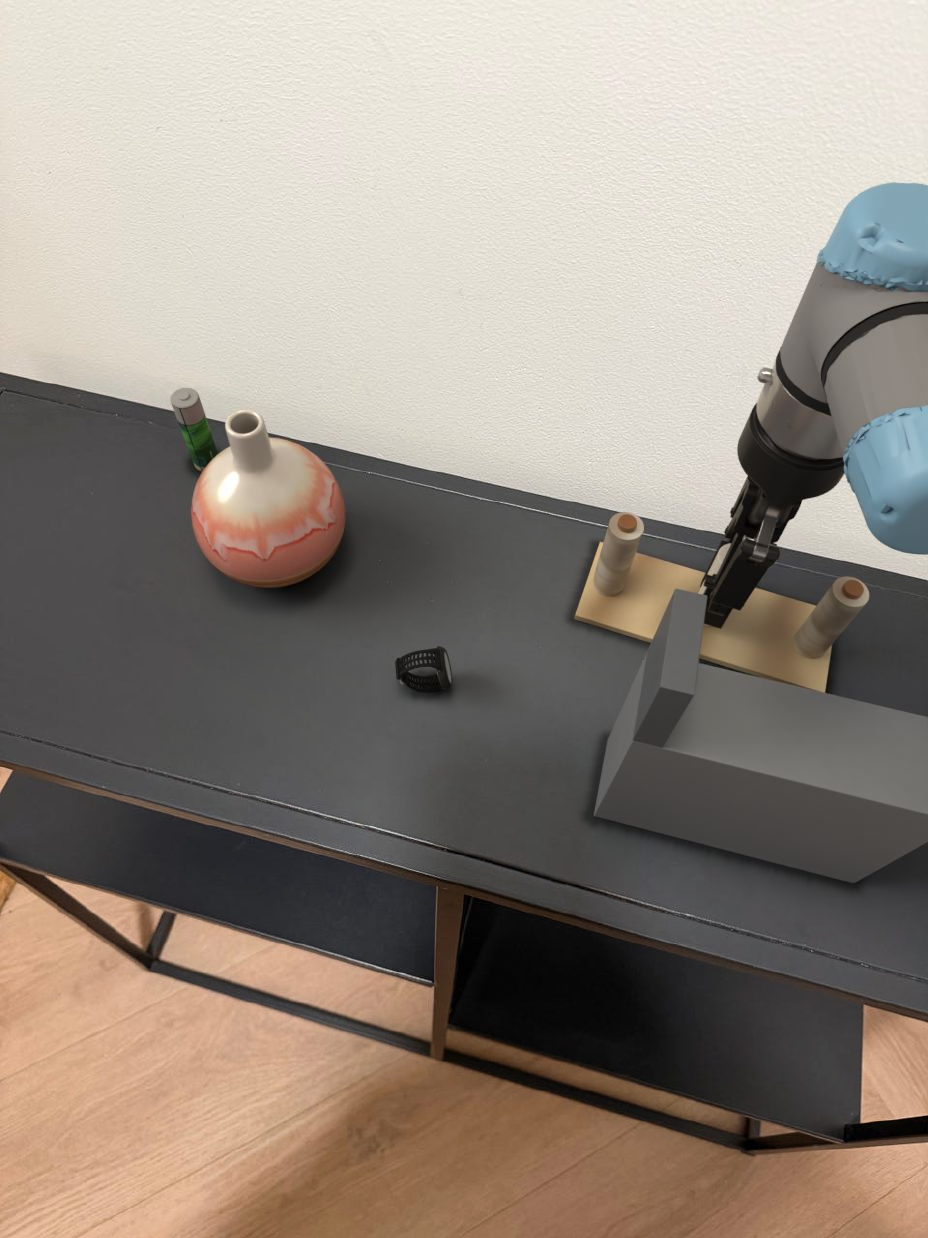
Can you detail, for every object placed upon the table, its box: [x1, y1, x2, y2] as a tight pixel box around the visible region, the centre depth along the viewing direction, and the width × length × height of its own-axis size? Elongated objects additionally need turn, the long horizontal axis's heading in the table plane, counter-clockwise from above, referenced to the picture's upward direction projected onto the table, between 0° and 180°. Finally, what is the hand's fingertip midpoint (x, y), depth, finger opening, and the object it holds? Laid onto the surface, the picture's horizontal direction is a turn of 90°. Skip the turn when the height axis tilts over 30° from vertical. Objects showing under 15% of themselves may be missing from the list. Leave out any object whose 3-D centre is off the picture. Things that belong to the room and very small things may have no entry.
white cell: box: [698, 543, 731, 626], centre depth 74 cm, size 3×3×10 cm
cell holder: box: [573, 511, 870, 693], centre depth 74 cm, size 23×9×10 cm, turn 70°
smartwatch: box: [394, 645, 453, 693], centre depth 72 cm, size 4×5×5 cm
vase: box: [190, 409, 347, 589], centre depth 74 cm, size 14×14×18 cm
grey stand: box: [593, 589, 928, 884], centre depth 59 cm, size 21×7×24 cm, turn 75°
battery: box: [169, 387, 219, 473], centre depth 83 cm, size 3×3×10 cm
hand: (711, 604), depth 77 cm, fingers closed on white cell, 3 cm apart
